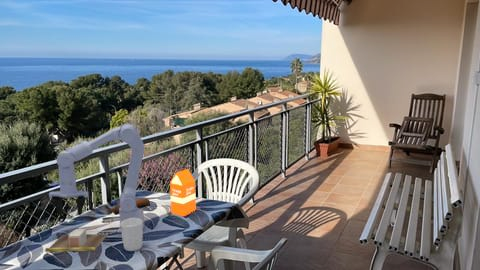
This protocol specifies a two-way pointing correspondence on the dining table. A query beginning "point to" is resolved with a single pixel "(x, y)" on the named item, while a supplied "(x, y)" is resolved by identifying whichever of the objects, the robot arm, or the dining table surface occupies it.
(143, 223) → the robot arm
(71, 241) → the carton
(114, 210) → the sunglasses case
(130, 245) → the white cup
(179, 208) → the orange juice
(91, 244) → the shelf board
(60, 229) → the dining table surface
